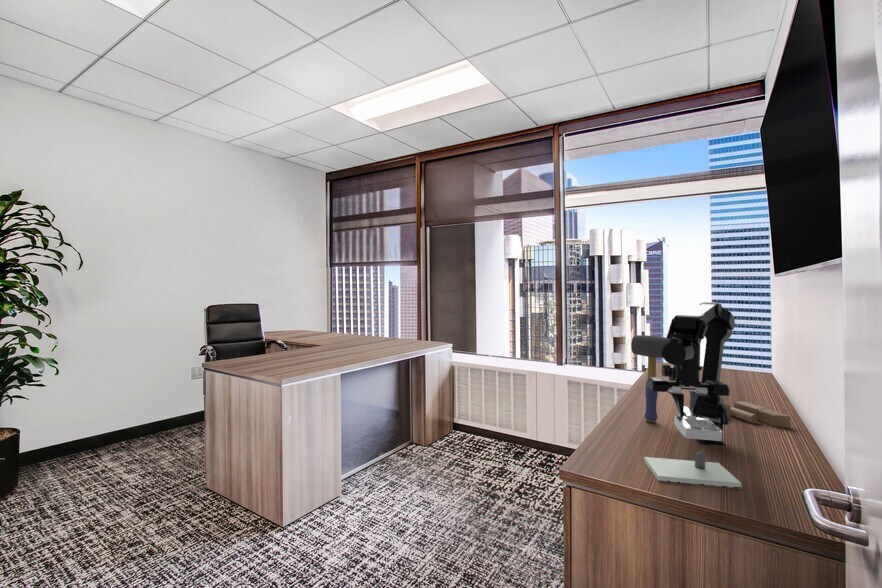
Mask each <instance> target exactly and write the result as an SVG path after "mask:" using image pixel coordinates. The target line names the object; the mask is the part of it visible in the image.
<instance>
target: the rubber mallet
mask: <svg viewBox="0 0 882 588" xmlns="http://www.w3.org/2000/svg"><path fill="white" fill-rule="evenodd" d="M631 339H632V340H631V342H630V343H631V344H630V347H631V348H630V350H631V352H632V353H633V355H637V356H643V357H648V358H647V379H646V383H645V392H644V393H645V394H644V395H645V412H644V418H645V421H646V422H649V423H656V421H657V420H658V413H657V401H658V395H659V392H658V391H652V390H651V389H650V388H649V387H647V380H648V379H649V378H650V377H656V378H657V358H658V359H664V358H663V356H662V350H663V347H664V346H665V345H666V344H668V343H670V339H667V336H665V337H664V336H659V335H647V334H646V335H644V334H642V335H641V334H636V335H633V337H632V338H631Z"/></svg>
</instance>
